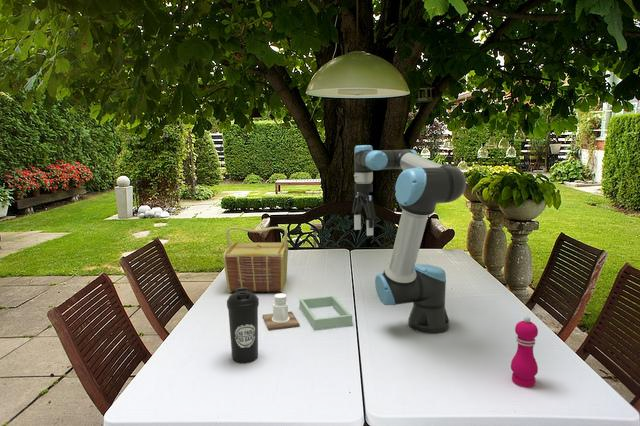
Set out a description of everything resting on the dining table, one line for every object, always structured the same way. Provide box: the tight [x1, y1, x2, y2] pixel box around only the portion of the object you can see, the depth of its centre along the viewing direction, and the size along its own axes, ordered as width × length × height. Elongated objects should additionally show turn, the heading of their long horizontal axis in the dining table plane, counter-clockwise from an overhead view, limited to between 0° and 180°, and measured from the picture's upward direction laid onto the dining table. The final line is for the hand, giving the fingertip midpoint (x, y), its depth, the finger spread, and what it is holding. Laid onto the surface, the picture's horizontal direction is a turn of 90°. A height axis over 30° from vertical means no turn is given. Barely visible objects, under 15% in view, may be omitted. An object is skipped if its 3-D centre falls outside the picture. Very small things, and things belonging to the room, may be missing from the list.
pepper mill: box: [510, 316, 539, 388], centre depth 134 cm, size 7×7×20 cm
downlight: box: [272, 292, 290, 323], centre depth 181 cm, size 8×7×10 cm
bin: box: [299, 295, 353, 331], centre depth 187 cm, size 24×15×4 cm, turn 16°
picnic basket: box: [222, 226, 289, 294], centre depth 222 cm, size 29×26×30 cm
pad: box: [262, 311, 301, 331], centre depth 183 cm, size 14×12×1 cm
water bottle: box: [226, 287, 260, 364], centre depth 152 cm, size 10×10×23 cm
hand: (363, 232), depth 198 cm, fingers open, 13 cm apart
